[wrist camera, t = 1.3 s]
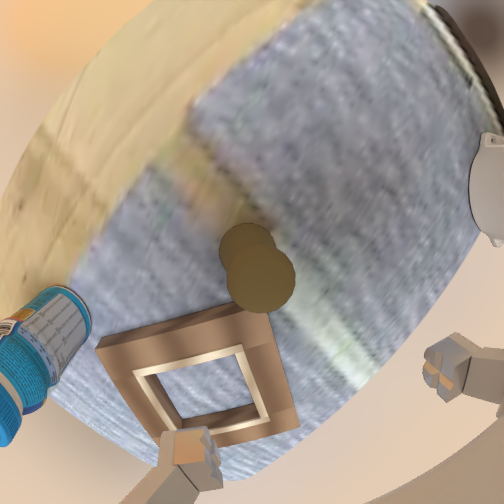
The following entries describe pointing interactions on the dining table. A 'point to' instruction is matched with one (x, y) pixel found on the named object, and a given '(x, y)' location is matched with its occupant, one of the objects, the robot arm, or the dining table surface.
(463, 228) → the dining table surface
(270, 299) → the olive peg
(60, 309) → the beverage bottle
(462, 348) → the robot arm
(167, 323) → the socket board
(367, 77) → the dining table surface
